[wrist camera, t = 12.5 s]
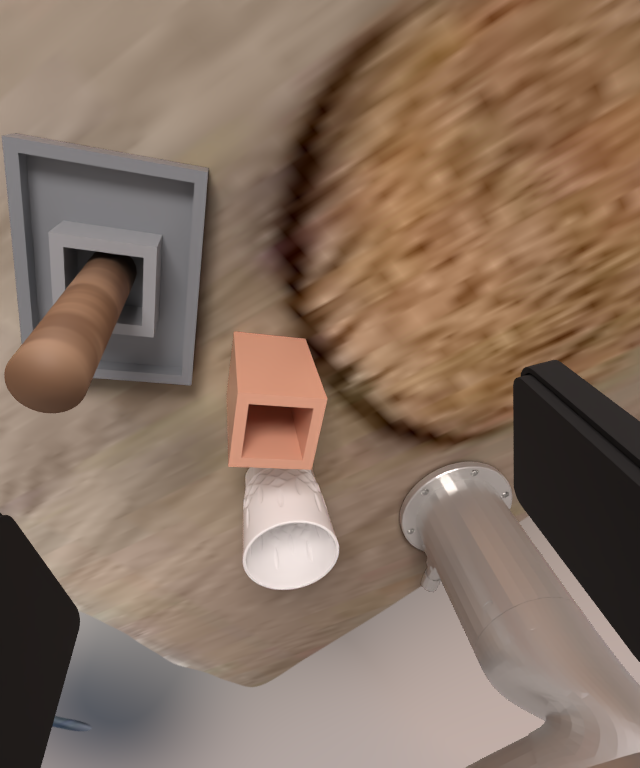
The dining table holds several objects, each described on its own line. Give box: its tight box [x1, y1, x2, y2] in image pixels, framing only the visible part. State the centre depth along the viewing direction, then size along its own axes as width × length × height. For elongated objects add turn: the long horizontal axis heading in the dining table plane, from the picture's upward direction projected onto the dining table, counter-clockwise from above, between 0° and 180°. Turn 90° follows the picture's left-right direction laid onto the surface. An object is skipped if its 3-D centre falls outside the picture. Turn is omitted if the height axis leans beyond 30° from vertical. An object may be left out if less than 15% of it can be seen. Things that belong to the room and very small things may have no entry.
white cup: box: [243, 467, 339, 590], centre depth 45 cm, size 8×8×10 cm
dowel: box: [5, 251, 137, 413], centre depth 29 cm, size 3×3×17 cm
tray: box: [2, 133, 209, 385], centre depth 35 cm, size 16×12×4 cm
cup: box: [227, 332, 327, 470], centre depth 39 cm, size 6×6×10 cm
